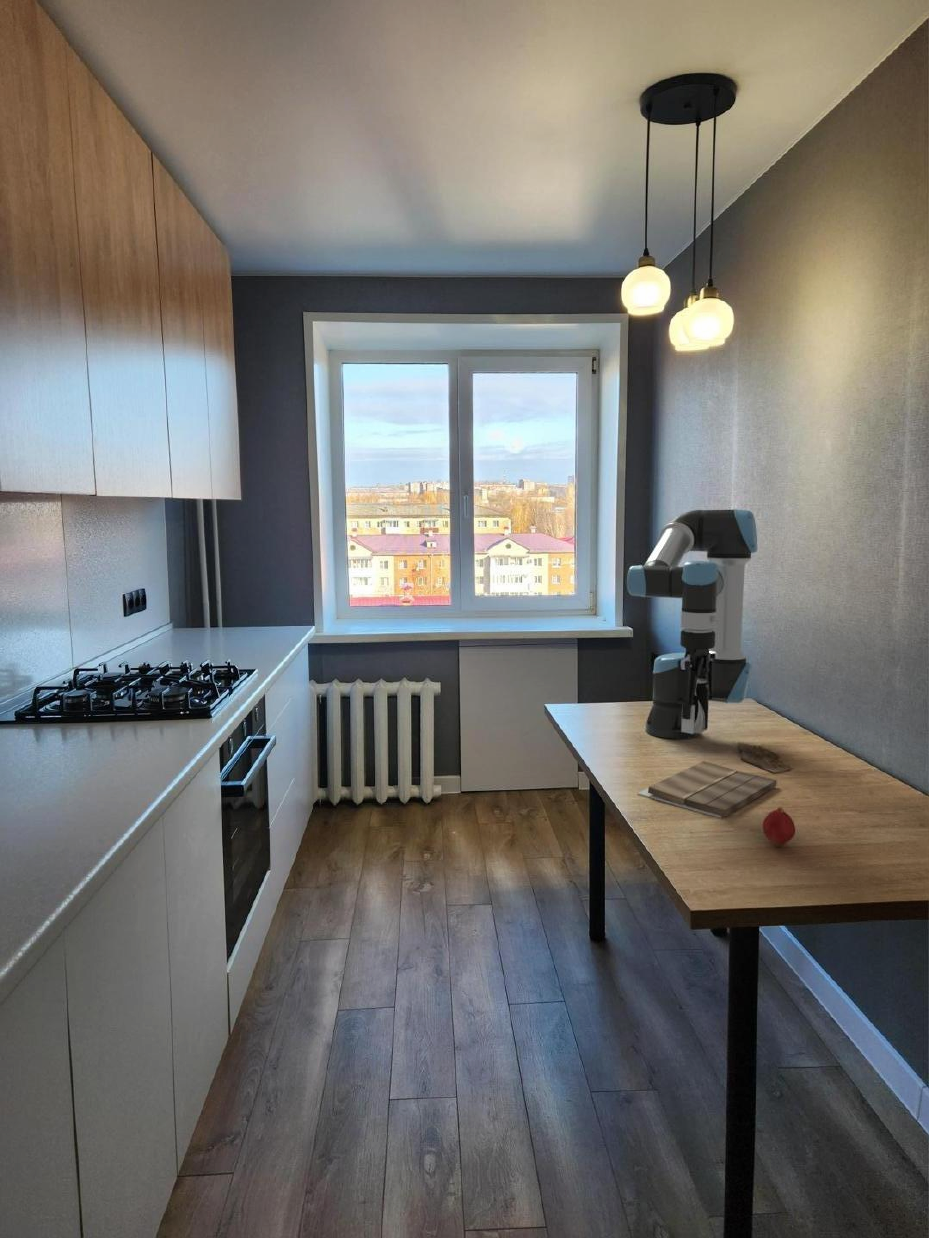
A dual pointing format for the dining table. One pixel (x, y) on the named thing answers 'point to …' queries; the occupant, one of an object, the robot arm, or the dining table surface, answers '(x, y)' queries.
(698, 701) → the beverage can
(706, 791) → the laid board
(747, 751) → the wooden fragment
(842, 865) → the dining table surface
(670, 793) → the plank
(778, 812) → the pomegranate
